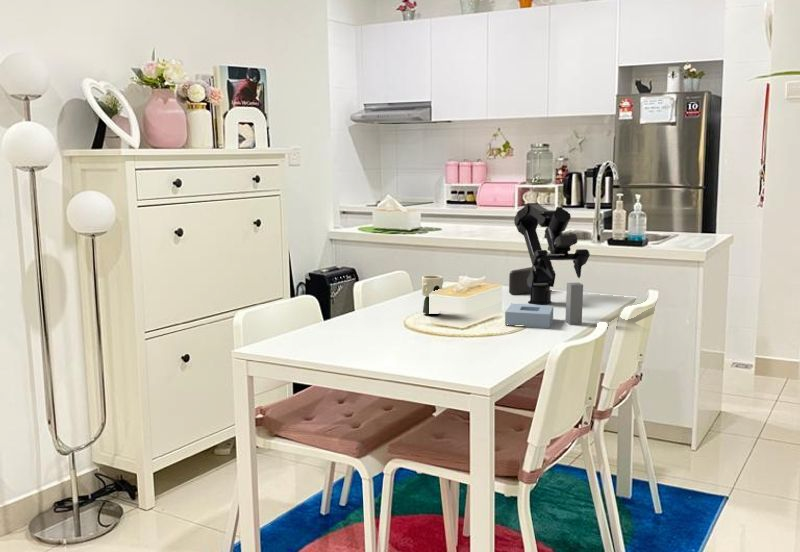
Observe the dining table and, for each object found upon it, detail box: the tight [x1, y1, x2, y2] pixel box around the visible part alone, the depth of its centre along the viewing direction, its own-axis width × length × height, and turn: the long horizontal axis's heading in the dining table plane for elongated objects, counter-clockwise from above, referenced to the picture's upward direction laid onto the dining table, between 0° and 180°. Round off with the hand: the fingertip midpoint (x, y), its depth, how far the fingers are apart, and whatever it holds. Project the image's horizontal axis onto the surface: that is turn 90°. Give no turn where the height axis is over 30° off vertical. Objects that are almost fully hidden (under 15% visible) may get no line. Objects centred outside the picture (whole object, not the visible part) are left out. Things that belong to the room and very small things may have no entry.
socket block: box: [504, 302, 555, 329], centre depth 266 cm, size 14×14×4 cm
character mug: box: [421, 274, 444, 315], centre depth 277 cm, size 11×7×13 cm, turn 145°
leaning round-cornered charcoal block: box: [508, 266, 532, 296], centre depth 317 cm, size 16×5×9 cm, turn 134°
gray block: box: [564, 282, 584, 326], centre depth 264 cm, size 4×4×13 cm
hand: (566, 277), depth 271 cm, fingers open, 9 cm apart
